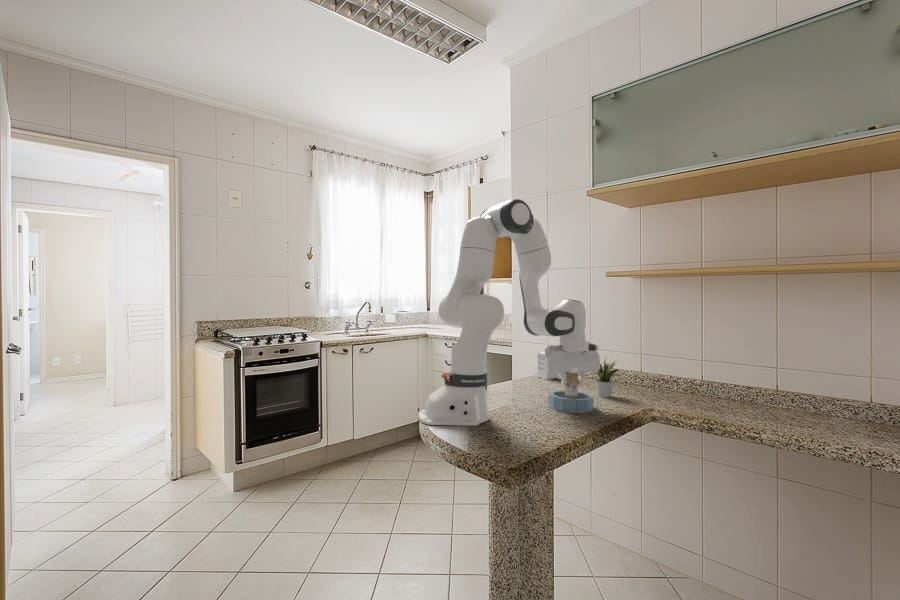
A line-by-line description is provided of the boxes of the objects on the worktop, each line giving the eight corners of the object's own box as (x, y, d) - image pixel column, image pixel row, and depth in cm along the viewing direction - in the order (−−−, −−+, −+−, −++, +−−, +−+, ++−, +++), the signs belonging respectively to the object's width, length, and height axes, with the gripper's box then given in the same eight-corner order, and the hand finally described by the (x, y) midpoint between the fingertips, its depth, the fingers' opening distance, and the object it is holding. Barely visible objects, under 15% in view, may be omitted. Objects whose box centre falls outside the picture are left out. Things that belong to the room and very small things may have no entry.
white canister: (547, 376, 213) (548, 351, 214) (558, 378, 207) (558, 353, 207) (536, 377, 210) (537, 352, 210) (546, 379, 203) (547, 353, 203)
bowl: (561, 413, 140) (561, 400, 140) (542, 403, 155) (542, 390, 155) (601, 412, 143) (601, 399, 143) (579, 402, 158) (579, 390, 158)
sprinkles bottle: (569, 406, 146) (570, 368, 146) (561, 403, 150) (562, 366, 151) (580, 405, 148) (581, 367, 148) (572, 402, 152) (573, 365, 152)
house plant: (583, 398, 164) (584, 356, 165) (581, 391, 178) (582, 352, 178) (622, 401, 161) (623, 358, 161) (617, 394, 174) (618, 354, 174)
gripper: (549, 346, 144) (548, 386, 144) (602, 346, 148) (602, 385, 148) (541, 344, 150) (540, 383, 150) (593, 344, 154) (592, 381, 154)
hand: (571, 384), depth 149 cm, fingers closed on sprinkles bottle, 4 cm apart
